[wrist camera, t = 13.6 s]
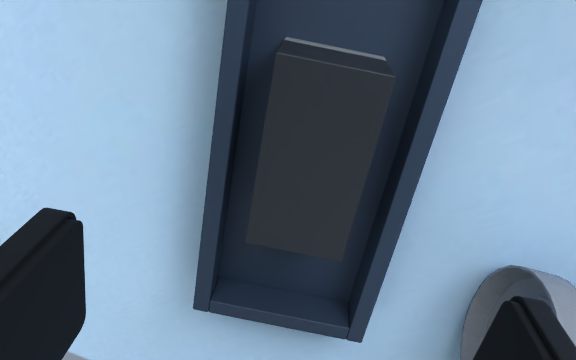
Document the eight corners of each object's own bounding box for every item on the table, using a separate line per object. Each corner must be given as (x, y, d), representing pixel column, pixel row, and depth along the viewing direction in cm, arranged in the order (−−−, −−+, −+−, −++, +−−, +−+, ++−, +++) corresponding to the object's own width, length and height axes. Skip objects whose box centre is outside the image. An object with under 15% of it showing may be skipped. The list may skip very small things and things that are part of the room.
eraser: (256, 202, 22) (244, 243, 19) (285, 36, 18) (276, 51, 15) (340, 219, 22) (341, 262, 19) (384, 56, 18) (396, 76, 15)
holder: (204, 278, 25) (192, 309, 23) (256, -141, 16) (245, -158, 14) (358, 309, 25) (361, 343, 23) (492, -92, 16) (519, -102, 14)
